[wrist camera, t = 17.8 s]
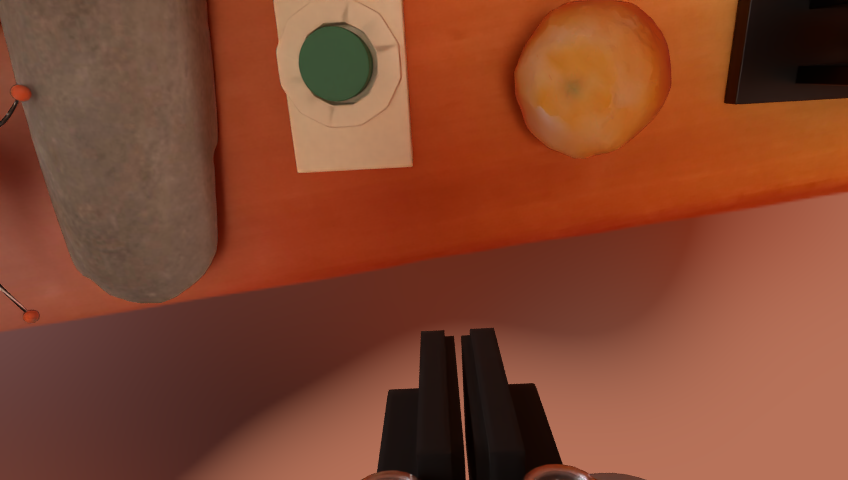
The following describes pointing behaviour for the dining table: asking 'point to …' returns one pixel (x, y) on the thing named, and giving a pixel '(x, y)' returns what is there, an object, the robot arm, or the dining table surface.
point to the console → (356, 117)
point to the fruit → (592, 76)
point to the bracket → (789, 51)
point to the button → (335, 63)
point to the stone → (123, 135)
